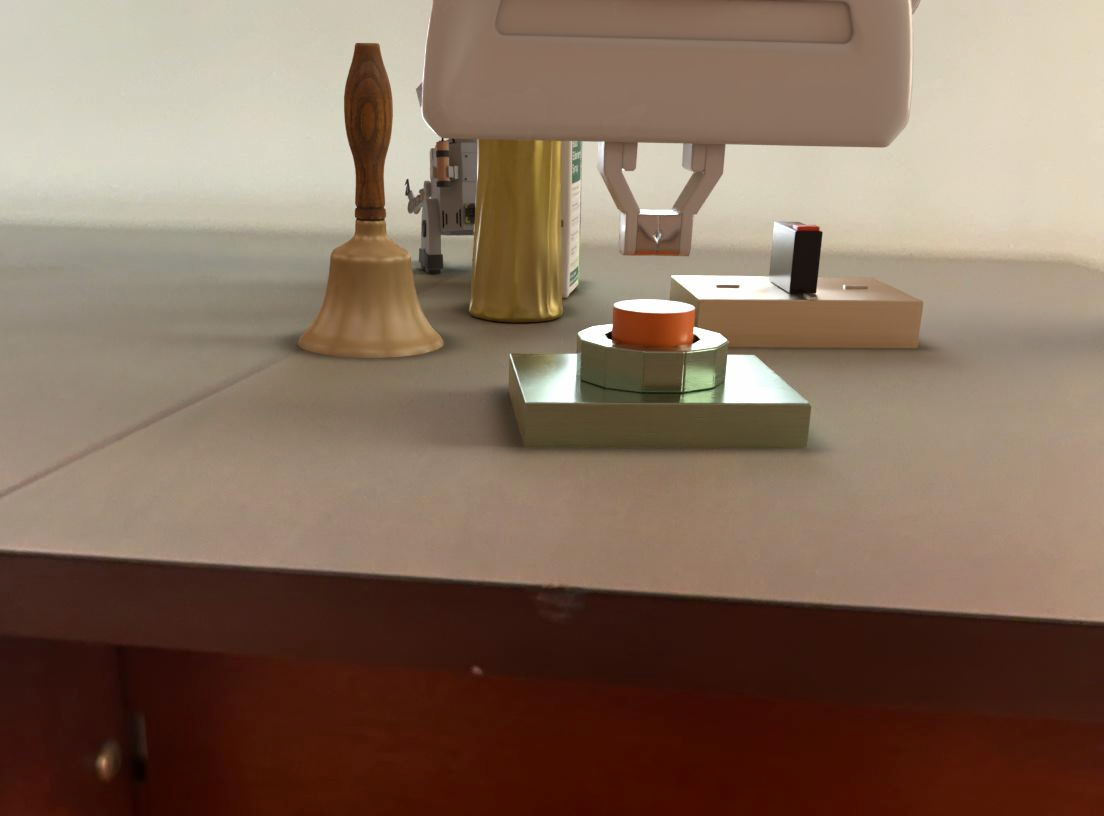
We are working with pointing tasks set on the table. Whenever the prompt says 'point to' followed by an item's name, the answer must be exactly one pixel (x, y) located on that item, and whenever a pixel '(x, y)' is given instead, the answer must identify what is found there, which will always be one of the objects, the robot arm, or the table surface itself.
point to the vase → (517, 231)
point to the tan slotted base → (802, 312)
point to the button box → (653, 397)
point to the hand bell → (370, 241)
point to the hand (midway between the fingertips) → (653, 254)
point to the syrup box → (571, 214)
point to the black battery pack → (795, 256)
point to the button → (653, 322)
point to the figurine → (445, 196)
